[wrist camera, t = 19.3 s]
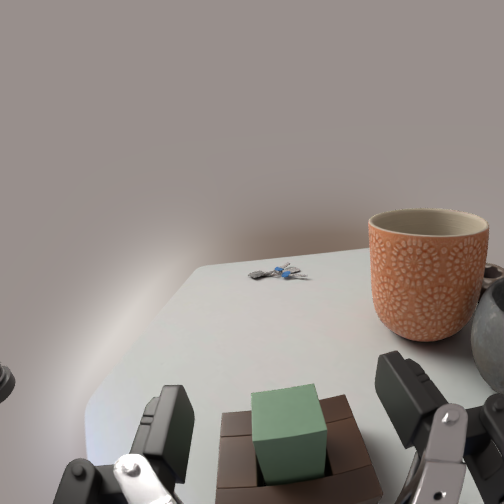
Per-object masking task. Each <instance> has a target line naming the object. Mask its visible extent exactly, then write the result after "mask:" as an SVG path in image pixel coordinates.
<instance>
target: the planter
mask: <svg viewBox="0 0 504 504" xmlns="http://www.w3.org/2000/svg"><path fill="white" fill-rule="evenodd" d="M368 225H369V226H368V228H369V244H370V263H371V285H372V295H373V303H374V307H375V310H376V313H377V315H378V317H379V318H380V320H381V321H382V322H383V323H384V325H385V326H386V327H388V328H389V329H390V330H391V331H393V332H394V333H396V334H397V335H399V336H401V337H403V338H406V339H409V340H413V341H419V342H432V341H438V340H442V339H445V338H447V337H450V336H452V335H454V334H455V333H457V332H458V331H460V330H461V329H462V328H463V327H464V326H465V325H466V324H467V323H468V322H469V320H470V319H471V317H472V315H473V313H474V311H475V308H476V305H477V302H478V299H479V296H480V292H481V287H482V282H483V277H484V271H485V264H486V257H487V249H488V240H489V224H488V222H487V221H486V220H485V219H483V218H481V217H479V216H476V215H473V214H470V213H466V212H461V211H455V210H447V209H433V208H415V209H402V210H394V211H388V212H384V213H380V214H377V215H375V216H373V217H371V218H370V219H369V221H368Z"/></svg>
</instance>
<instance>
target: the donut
mask: <svg viewBox="0 0 504 504" xmlns="http://www.w3.org/2000/svg"><path fill="white" fill-rule="evenodd" d="M503 277H504V269H503V268H501V267H500V266H497V265H495V264H491V263H486V264H485V271H484V277H483V282H482V287H481V292H480V296H479V299H478V301H480V299H481V297H482V295H483V293H484V292H485V291H486V289H487V288H488V287H489V286H490V285H491V284H492V283H493V282H494V281H496V280H498V279H500V278H503Z"/></svg>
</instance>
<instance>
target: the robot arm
mask: <svg viewBox="0 0 504 504" xmlns="http://www.w3.org/2000/svg"><path fill="white" fill-rule="evenodd" d="M5 376H6V373H5V371H4V369H3V367H2V366H1V364H0V385H1V384H2V382H3V381H4V379H5ZM375 389H376V393H377V395H378V397H379V399H380V401H381V403H382V405H383V406H384V408H385V410H386V412H387V414H388V416H389V418H390V420H391V422H392V424H393V426H394V428H395V430H396V432H397V434H398V436H399V438H400V440H401V442H402V444H403V446H404V448H405V449H407V448H410V447H412V446H415V448H416V450H417V451H416V452H415V455H414V458H413V461H412V464H411V467H410V470H409V473H408V476H407V478H406V481H405V484H404V486H403V489H402V491H401V493H400V495H399V497H398V498H397V500H396V502H395V504H458V502H459V498H460V494H461V490H462V486H463V482H464V477H465V473H466V465H467V467H468V469H469V471H470V473H471V475H472V477H473V479H474V481H475V484H476V486H477V488H478V490H479V492H480V495H481V497H482V499H483V502H484V504H504V395H503V394H494V395H491V396H490V397H488V398H487V400H486V401H485V403H484V405H483V406H479V407H475V408H470V409H464V408H463V407H462V406H460V405H458V404H452V403H450V404H449V403H448V402H447V400H446V399H445V398H444V396H443V395H442V394H441V392H440V391H439V390H438V388H437V387H436V386H435V384H434V383H433V382H432V380H430V378H429V377H428V375H427V374H425V371H424V370H423V369H422V368H421V366H420V365H419V364H418V363H416V362H414V361H413V360H411V359H406V360H404V358H403V357H402V356H401V354H400V353H399V352H398V351H392V352H389V353H386V354H382V355H380V356H379V358H378V364H377V371H376V377H375ZM194 420H195V418H194V411H193V408H192V405H191V403H190V401H189V398H188V396H187V393H186V391H185V389H184V387H183V385H164V386H163V388H162V391H161V394H160V397H153V398H152V400H151V401H150V402H149V403H148V404H147V405H146V407H145V410H144V413H143V417H142V418H141V421H140V425H139V427H138V430H137V433H136V436H135V438H134V441H133V444H132V447H131V450H130V453H129V454H127V455H124V456H122V457H121V458H119V459H118V460H117V462H116V463H115V464H113V465H103V466H94V465H93V464H92V463H91V462H90V461H88V460H86V459H75V460H73V461H71V462H70V463H69V464H68V465H67V467H66V469H65V471H64V473H63V476H62V479H61V482H60V484H59V487H58V490H57V493H56V496H55V499H54V501H53V504H183V502H182V501H181V500H180V498H179V497H178V495H177V494H176V493H175V491H174V488H175V483H180V484H185V478H186V471H187V465H188V458H189V452H190V446H191V439H192V433H193V427H194ZM494 443H495V444H494ZM495 445H496V446H495ZM497 448H498V449H497ZM498 450H499V451H498ZM499 452H500V453H501V454H500V453H499ZM501 455H502V456H501ZM462 458H463V459H464V461H465V462H462Z"/></svg>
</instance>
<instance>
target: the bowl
mask: <svg viewBox="0 0 504 504" xmlns="http://www.w3.org/2000/svg"><path fill="white" fill-rule="evenodd" d="M471 346H472V352H473V357H474V361H475V363H476V366H477V368H478V370H479V372H480V374H481V376H482V377H483V379H484V380H485V381H486V382H487V383H488V384H489V385H490V386H491V387H492V389H493V390H495V391H496V392H498V393H500V394H503V395H504V277H503V278H500V279H498V280H496V281H494V282H493V283H492V284H491V285H490V286H489V287H488V288H487V289H486V291H485V292H484V293H483V295H482V297H481V299H480V301H479V303H478V306H477V308H476V311H475V314H474V318H473V322H472V329H471Z"/></svg>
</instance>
